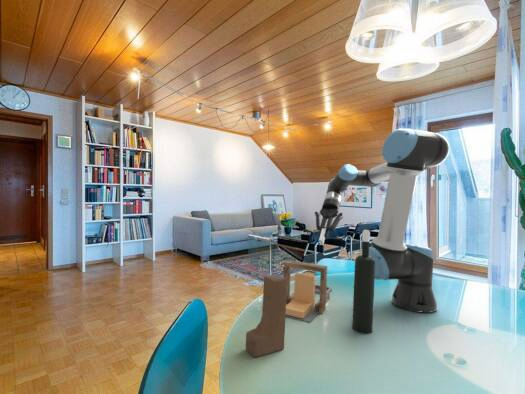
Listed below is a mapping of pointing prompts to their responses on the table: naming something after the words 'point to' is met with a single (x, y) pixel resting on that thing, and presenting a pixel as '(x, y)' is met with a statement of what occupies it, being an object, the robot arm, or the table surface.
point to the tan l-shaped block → (302, 296)
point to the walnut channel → (324, 296)
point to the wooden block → (270, 319)
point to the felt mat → (308, 317)
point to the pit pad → (317, 289)
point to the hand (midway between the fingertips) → (321, 242)
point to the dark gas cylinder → (363, 288)
